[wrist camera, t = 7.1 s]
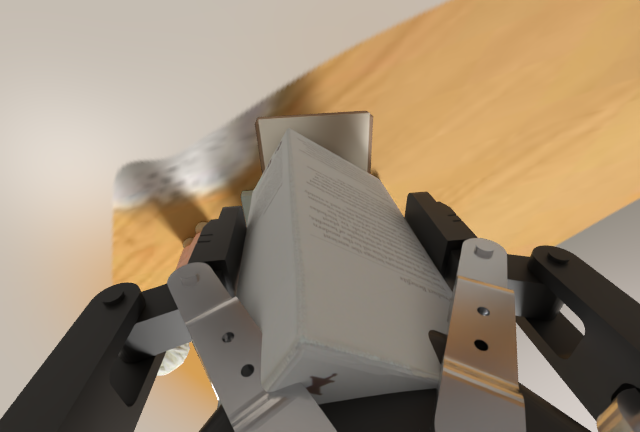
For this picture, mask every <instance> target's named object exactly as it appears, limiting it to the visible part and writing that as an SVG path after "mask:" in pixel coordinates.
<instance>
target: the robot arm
mask: <svg viewBox="0 0 640 432" xmlns="http://www.w3.org/2000/svg"><path fill="white" fill-rule="evenodd" d="M405 220H406V221H407V223H408V224H409V226H410V227H411V229H412V230H413V232H414V234H415V235H416V237H417V238H418V240H419V241H420V243H421V244H422V246H423V247H424V249H425V250H426V252H427V254H428V255H429V257H430V258H431V260H432V261H433V263H434V265H435V266H436V268H437V269H438V271H439V272H440V274H441V275H442V277H443V279H444V280H445V282H446V283H447V285H448V286H449V288H450V289H451V291H452V292H453V293H452V297H451V301H450V305H449V309H448V316H447V322H448V328H447V333H446V334H444V333H441V332H438V331H435V330H430V331H429V333H428V336H429V339H430V342H431V344H432V346H433V349H434V351H435V353H436V355H437V358H438V360H439V362H440V365H441V367H440V372H439V380H438V384H437V388H433V389H423V390H412V391H404V392H396V393H388V394H382V395H375V396H368V397H361V398H355V399H349V400H343V401H336V402H330V403H323V404H317V403H316V401H315V400H314V399H313V397H312V396H311V394H310V393H309V392H308V390H307V389H306V388H305V386H304V385H303V384H302V383H301V382H299V383H295V384H292V385H289V386H287V387H284V388H282V389H279V390H277V391H273V392H266V391H265V390H264V389H263V387H262V385H261V350H262V334H263V333H262V332H261V330H260V329H259V327H258V326H257V325H256V323H255V322H254V320H253V319H252V318H251V316H250V315H249V313H248V312H247V310H246V309H245V308H244V306H243V305H242V303H241V302H240V301H239V299H238V298H237V297H236V291H237V285H238V278H239V271H240V265H241V259H242V253H243V247H244V241H245V236H246V230H247V227H246V222H245V217H244V212H243V209H242V206H233V207H223V208H222V211H221V214H220V216H219V219H214V220H210V221H209V222H208V223H207V224H206V225H205V226H204V227H203V229H202V231H201V233H200V237H199V238H198V240H197V243H196V245H195V247H194V250H193V252H192V254H191V256H190V259H189V261H188V263H187V265H184V266H182V267H180V268H178V269H177V270H175V271H174V272H173V273H172V274H171V275H170V277H169V278H168V281H167V284H165V285H162V286H159V287H156V288H152V289H149V290H146V291H143V292H141V290H140V288H139V287H138V285H136V284H134V283H120V284H116V285H113V286H111V287H109V288H107V289H105V290H103V291H102V292H100V293H99V294H97V295H96V296H95V297H94V298H93V299H92V300H91V302H90V303H89V304H88V306H87V307H86V308H85V309H84V311H83V312H82V313H81V315H80V316H79V317H78V319H77V320H76V321H75V322H74V324H73V325H72V326H71V328H70V329H69V331H68V332H67V333H66V334H65V336H64V337H63V338H62V340H61V341H60V342H59V343H58V345H57V346H56V347H55V349H54V350H53V351H52V353H51V354H50V355H49V356H48V358H47V359H46V360H45V362H44V363H43V364H42V366H41V367H40V368H39V370H38V371H37V372H36V374H35V375H34V376H33V377H32V379H31V380H30V381H29V383H28V384H27V385H26V387H25V388H24V389H23V391H22V392H21V393H20V394H19V396H18V397H17V398H16V400H15V401H14V402H13V404H12V405H11V406H10V408H9V409H8V410H7V412H6V413H5V414H4V416H3V417H2V418H1V419H0V432H134V430H135V427H136V424H137V422H138V420H139V417H140V415H141V413H142V410H143V407H144V405H145V403H146V400H147V398H148V395H149V393H150V390H151V388H152V386H153V383H154V381H155V378H156V376H157V373H158V371H159V368H160V366H161V364H162V361H163V359H164V356H165V354H166V351H168V350H170V349H173V348H176V347H178V346H181V345H184V344H186V343H189V342H191V341H192V343H193V345H194V347H195V350H196V352H197V354H198V356H199V358H200V361H201V363H202V365H203V367H204V370H205V372H206V374H207V376H208V378H209V380H210V383H211V385H212V387H213V390H214V392H215V394H216V396H217V399H218V401H219V400H220V402H221V405H220V406H219V407H218V409H217V410H216V411H215V412H214V413H213V415H212V416H211V417H210V418H209V420H208V421H207V422H206V423H205V425H204V426H203V427H202V428H201V430H200V431H199V432H591V431H590V430H588V429H587V428H585V427H584V426H582V425H581V424H579V423H578V422H576V421H575V420H573V419H572V418H570V417H569V416H568V415H566V414H565V413H563V412H562V411H560V410H559V409H557V408H556V407H554V406H553V405H551V404H550V403H548V402H547V401H546V400H544V399H543V398H541V397H540V396H538V395H537V394H535V393H534V392H532V391H531V390H529V389H528V388H526V387H525V386H523V385H522V384H521V383H519V382H518V367H517V366H518V365H517V342H516V323H517V324H518V325H519V326H520V328H521V329H522V330H523V331H524V333H525V334H526V335H527V336H528V338H529V339H530V340H531V341H532V342H533V344H534V345H535V346H536V347H537V349H538V350H539V351H540V352H541V354H542V355H543V356H544V357H545V358H546V360H547V361H548V362H549V363H550V365H551V366H552V367H553V368H554V370H555V371H556V372H557V373H558V375H559V376H560V377H561V378H562V379H563V381H564V382H565V383H566V384H567V386H568V387H569V388H570V389H571V391H572V392H573V393H574V394H575V395H576V397H577V398H578V399H579V400H580V402H581V403H582V404H583V405H584V407H585V408H586V409H587V410H588V412H589V413H590V414H591V415H592V416H593V418H594V419H595V420H596V421H597V429H598V432H640V304H639V303H638V302H637V301H635V300H634V299H633V298H631V297H630V296H629V295H627V294H626V293H625V292H623V291H622V290H620V289H619V288H618V287H617V286H615V285H614V284H613V283H611V282H610V281H609V280H608V279H606V278H605V277H604V276H602V275H601V274H599V273H598V272H597V271H596V270H594V269H593V268H592V267H590V266H589V265H588V264H586V263H585V262H584V261H582V260H581V259H580V258H578V257H577V256H576V255H574V254H573V253H571V252H568V251H566V250H564V249H561V248H558V247H554V246H538V247H536V248H534V250H533V251H532V254H531V256H530V257H526V256H517V255H509V254H507V253H506V251H505V249H504V248H503V247H502V246H500V245H499V244H497V243H495V242H493V241H490V240H487V239H483V238H477V236H476V235H475V234H474V233H473V232H472V231H471V230H470V229H469V228H468V227H467V225H466V224H465V223H464V222H463V221H461V219H460V218H459V217H458V216H456V213H455V212H454V211H453V210H452V209H451V208H450V207H448V206H447V205H445V204H443V203H441V202H436V201H435V200H434V199H433V197H432V196H431V195H430V194H429V193H428V192H416V193H409V194H408V197H407V203H406V211H405ZM564 303H565V304H566V305H567V306H568V307H569V308H570V309H571V310H572V311H573V312H574V313H575V314H576V315H577V316H578V317H579V318H580V319H581V320H582V322H583V324H584V327H585V335H584V336H583V335H582V333H581V332H580V331H579V330H577V328H576V327H574V325H573V324H572V323H570V321H569V320H567V319H566V317H564V315H563V314H562V313H561V312H560V309H561V307H562V306H563V304H564Z"/></svg>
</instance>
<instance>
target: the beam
mask: <svg viewBox="0 0 640 432" xmlns="http://www.w3.org/2000/svg"><path fill="white" fill-rule="evenodd" d="M255 128H256V134H257V141H258V148H259V154H260V161H261V168H262V174H263V172H264V170H265V169H266V167H267V165H268V163H269V161H270V159H271V157H272V155H273V153H274V152H275V150H276V148H277V146H278V145H279V143H280V141H281V139H282V137H283V136H284V134H285V132H286V130H287V129H288V128H290V129H292V130H294V131H295V132H297V133H299V134H301V135H302V136H304V137H306V138H308V139H309V140H311V141H313V142H315V143H316V144H318V145H320V146H322V147H324V148H325V149H327V150H329V151H331V152H332V153H334V154H336V155H338V156H340V157H341V158H343V159H345V160H346V161H348V162H350V163H352V164H354V165H355V166H357V167H359V168H361V169H362V170H364V171H366V172H368V173H369V174H370V169H371V149H372V128H373V116H372V115H371V114H370V113H369V112H367V111H354V112H338V113H321V114H305V115H288V116H272V117H258V118H257V120H256V123H255Z"/></svg>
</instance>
